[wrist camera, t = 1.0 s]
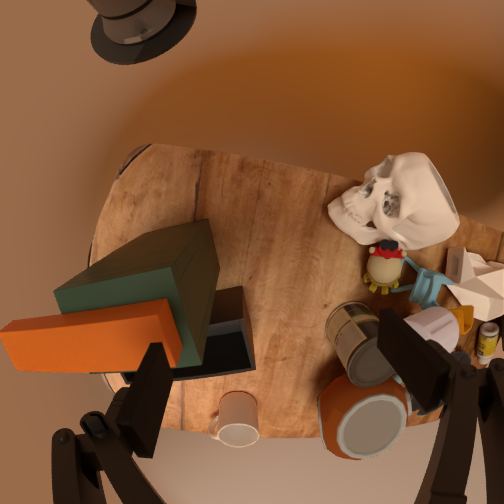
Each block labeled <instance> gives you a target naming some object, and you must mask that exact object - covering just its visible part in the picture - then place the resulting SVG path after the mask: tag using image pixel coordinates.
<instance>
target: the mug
mask: <svg viewBox="0 0 504 504" xmlns="http://www.w3.org/2000/svg"><path fill="white" fill-rule="evenodd" d="M217 423H218V433H217V434H215V432H214V429H215V426H216V424H217ZM208 433H209V436H210V437H211V438H212V439H215V440H220V441H221V442H222V443H224V444H226V445H228V446H232V447H246V446H249V445H252V444H254V443H255V442H256V441H257V440H258V438H259V426H258V415H257V405H256V401H255V399H254V398H253V397H252V396H251V395H249V394H247V393H244V392H231V393H228V394H226V395H225V396H224V397H223V398H222V399H221V401H220V404H219V415H218V416H216V417H215V418H214V419H213V420H212V421H211V423H210V425H209V428H208Z"/></svg>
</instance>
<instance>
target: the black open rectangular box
mask: <svg viewBox="0 0 504 504" xmlns="http://www.w3.org/2000/svg"><path fill="white" fill-rule="evenodd" d="M171 370H172V373H173V376H174V379H173V381H181V380H191V379H199V378H207V377H214V376H221V375H228V374H234V373H241V372H246V371H252V370H256V364H255V354H254V344H253V334H252V327H251V323H250V319H249V314H248V310H247V306H246V301H245V297H244V293H243V288H242V286H239V287H234V288H229V289H224V290H219V291H215V296H214V301H213V306H212V312H211V317H210V322H209V328H208V333H207V339H206V344H205V350H204V357H203V362H202V365H197V366H189V367H181V368H172V369H171ZM120 374H121V375H122V377H123V379H124V381H125V383H126V384H131V383H132V380H133V378H134V376H135V374H136V372H123V373H120Z"/></svg>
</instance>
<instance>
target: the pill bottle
mask: <svg viewBox="0 0 504 504" xmlns="http://www.w3.org/2000/svg"><path fill="white" fill-rule="evenodd" d="M498 334H499V326H498V325H497V324H496V323H494V322H486V323H483V324H482V325H481V327H480V331H479V337H478V343H477V349H476V352H477V355H478V357H477V361H478V362H479V363H480V364H487V363H488V362H489V361H490V359H491V356H492V355H493V354H494V352H495V348H496V344H497V339H498Z"/></svg>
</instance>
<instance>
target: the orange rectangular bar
mask: <svg viewBox="0 0 504 504" xmlns="http://www.w3.org/2000/svg"><path fill="white" fill-rule="evenodd" d="M0 338H1V340H2V342H3V345H4V347H5V349H6V351H7V352H8V355H9V357H10V359H11V361H12V362H13V364H14V366H15V368H16V370H21V371H39V372H115V371H134V370H138V368H139V365H140V363H141V361H142V359H143V357H144V355H145V353H146V351H147V349H148V347H149V345H150V343H153V342H162V343H163V346H164V349H165V352H166V355H167V358H168V361H169V364H170V367H177V364H178V361H179V357H180V354H181V351H182V347H183V345H182V342H181V339H180V337H179V334H178V331H177V328H176V325H175V322H174V319H173V316H172V313H171V309H170V306H169V303H168V300H167V298H164V299H158V300H152V301H146V302H140V303H134V304H128V305H121V306H115V307H108V308H102V309H95V310H88V311H81V312H74V313H67V314H61V315H52V316H45V317H38V318H30V319H21V320H13V321H12V322H11V323H9V324H8V325H7V326H5V327H4V328H3V329H2V330H0Z"/></svg>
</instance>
